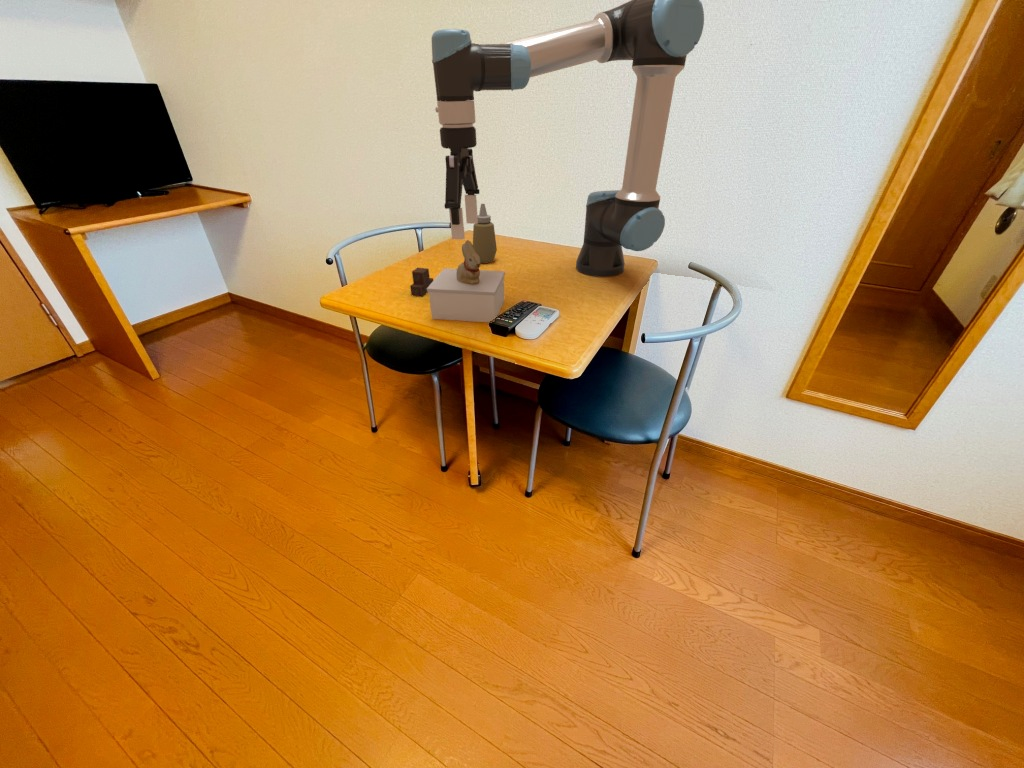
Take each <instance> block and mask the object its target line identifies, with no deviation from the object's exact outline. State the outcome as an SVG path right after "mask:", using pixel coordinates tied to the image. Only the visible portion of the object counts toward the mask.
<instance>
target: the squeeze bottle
mask: <svg viewBox="0 0 1024 768" xmlns="http://www.w3.org/2000/svg"><path fill="white" fill-rule="evenodd" d="M477 216H478V223H477V224H473V233H472V245H473V248H474V250H475V252H476V253H477V254H478V255H479V257H480V264H481V263H482V264H489V263H492V262H494V261H495V257H496V255H497V254H496V253H497V240H496V233H495V232H496V231H495V224H494V223H493V222H492V221H491V219H492V218H491V215H490V214H488V212H487V208H486V204H485V203H480V208H479V214H477ZM493 260H494V261H493Z"/></svg>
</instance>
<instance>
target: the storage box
mask: <svg viewBox="0 0 1024 768" xmlns="http://www.w3.org/2000/svg"><path fill="white" fill-rule="evenodd" d="M457 269H458V268H447V267H446V268H443V269H441V271H440V272H439V274H438V275H437V276H436V277H435V278H433V282H432V283H431V284H430V285H429V287H428V288H427V292H428V297H429V304H430V305H429V306H430V312H431V319H433V320H447V321H461V322H463V321H464V322H476V323H477V322H478V323H479V322H481V323H491V322H490V321H491V320H493V319H495V318H496V317H497V318H498V316H499V313H500V311H501V310H502V306H503V304H504V301H505V275H506V270H489V269H488V270H486V269H479V270H480V275H479V280H480V282H479V283H478V284H465V283H462V282H460V281H459V280H457ZM497 315H498V316H497ZM497 318H496V319H497Z"/></svg>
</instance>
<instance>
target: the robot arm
mask: <svg viewBox="0 0 1024 768" xmlns="http://www.w3.org/2000/svg"><path fill="white" fill-rule="evenodd" d="M704 24H705V13H704V7H703V3H702V1H700V0H628V1H627V2H624V3H622V4H620V5H619V6H616V7H613V8H612V9H609V10H606V11H601V12H599V13H598V12H597V13H596V15H595V16H594V18H593V19H592V20H588V21H584V22H580V23H576V24H572V25H568V26H565V27H561V28H556V29H553V30H549V31H545V32H541V33H538V34H537V33H536V34H533V35H529V36H526V37H522V38H518V39H517V38H516V39H513V40H510V41H506V42H502V43H493V44H492V43H491V44H490V43H487V44H484V43H483V44H479V43H472V39H471V34H470V32H469V31H468V30H466V29H460V28H459V29H458V28H445V29H438V30H436V31H434V32H433V33H432V35H431V56H432V57H431V58H432V59H431V62H432V68H433V75H434V84H435V85H434V86H435V92H436V101H437V102H436V103H437V105H436V107H435V109H434V110H435V112H436V113H437V114H438V123H439V124H440V125H442V127H440V129H439V136H440V145H441V147H442V148H443V149H449V151H450V155H445V158H444V159H445V169H446V170H445V198H444V199H445V203H444V209H446V210H447V209H448V211H449V219H450V221H449V223H450V231H451V239H452V240H465V237H466V236H465V226H464V215H463V214H464V212H463V207H461V206H462V194H463V188H464V193H465V194H464V204H465V205H464V207H465V219H466V224H473V225H474V224H477V223H478V216H477V215H478V203H477V195H480V189H479V186H478V185H479V184H478V180H477V175H476V174H477V173H476V167H475V163H474V156H473V149H472V148H474V147H475V148H476V146H477V131H476V130H477V128H476V127H475V126H474V124H475V123H476V110H475V109H476V108H475V97H474V96H475V95H474V93H475V92H481V91H512V92H513V91H514V90H523V89H525V88H526V87H527V86H528V84H529V82H530V79H531V78H534V77H538V76H541V75H545V74H549V73H551V72H556V71H559V70H565V69H567V68H571V67H574V66H578V65H579V66H580V65H583V64H585V63H590V62H593V61H597V62H598V63H599V64H605V63H609V62H614V61H632V64H631V69H632V71H633V72H634V74H635V75H636V85H635V92H634V99H633V106H632V113H631V122H630V128H629V136H628V141H627V142H628V143H627V148H626V149H627V150H626V156H625V157H626V158H625V166H624V171H623V172H624V173H623V179H622V187H621V188H620V190H619V189H618V190H613V189H612V190H611V189H610V190H599V191H593V192H590V193H589V195H587V200H586V205H585V208H586V209H585V221H584V222H585V223H584V231H583V232H584V234H583V243H582V246H581V249H580V251H579V254H578V255H577V258H576V262H575V263H576V264H575V269H576V271H578V272H579V273H581V274H583V275H586V276H593V277H603V278H604V277H605V278H606V277H614V276H618V275H621V274H623V272H624V271H625V263H626V262H625V258H624V257H625V256H624V252H623V248H624V249H626V250H630V251H634V252H643V251H646V250H648V249H650V248H651V247H653V245H654V243H656V242H658V241H659V239H661V238H660V237H661V235H662V233H663V231H664V229H665V224H666V217H665V215H664V214H663V212H662V210H660V201H661V195H660V194H659V193H658V191H657V184H658V181H659V180H658V178H659V173H660V168H661V161H662V155H663V150H664V144H665V140H666V134H667V133H666V132H667V130H668V129H667V127H668V121H669V117H670V110H671V105H672V100H673V94H674V87H675V82H676V78H677V76H678V75H679V74H680V73H681V72H682V71H683V70H684V69H685V65H686V62H687V61H686V60H687V55H689V53H691V52H692V51H693V50H694V49H695V46H696V45H698V43H699V42H700V40H701V37H702V35H703V30H704Z"/></svg>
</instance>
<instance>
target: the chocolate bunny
mask: <svg viewBox="0 0 1024 768" xmlns="http://www.w3.org/2000/svg"><path fill="white" fill-rule="evenodd" d="M461 251H462V256H463V258H464V260H463V262H462V263H460V264H458V266H457V268H456V269H457V280H459V281H460V282H462V283H465V284H478V283H479V282H480V280H479V275H480V270H481V269H480V267H481V263H480V257H479V255H478V254H477V253H476V252H475V250H474V248H473V242H471V241H470V240H469V239H467V240H465V242H464V243H463V244H462V245H461Z"/></svg>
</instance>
